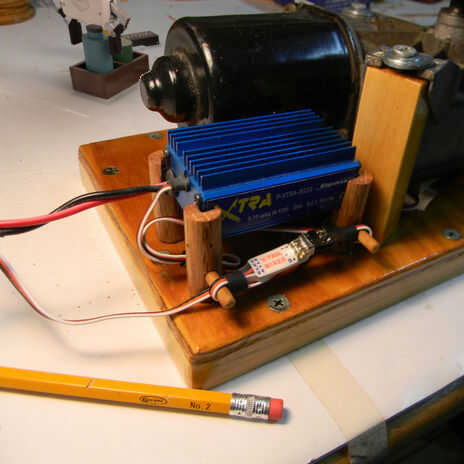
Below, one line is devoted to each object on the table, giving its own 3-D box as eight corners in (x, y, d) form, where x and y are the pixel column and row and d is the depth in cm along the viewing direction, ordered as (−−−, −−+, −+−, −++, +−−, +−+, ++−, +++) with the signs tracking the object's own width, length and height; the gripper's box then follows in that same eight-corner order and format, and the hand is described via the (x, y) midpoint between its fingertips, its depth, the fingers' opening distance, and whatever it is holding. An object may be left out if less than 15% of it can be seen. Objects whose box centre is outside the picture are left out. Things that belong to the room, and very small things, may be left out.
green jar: (107, 77, 110) (102, 42, 105) (120, 70, 114) (116, 36, 109) (126, 82, 109) (122, 47, 104) (139, 75, 113) (136, 41, 108)
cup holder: (73, 91, 104) (68, 66, 100) (119, 68, 116) (116, 45, 112) (107, 102, 102) (104, 77, 99) (150, 77, 115) (148, 54, 111)
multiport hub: (159, 43, 132) (159, 35, 131) (124, 50, 125) (123, 41, 124) (150, 38, 134) (149, 30, 133) (115, 44, 127) (114, 36, 126)
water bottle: (84, 87, 104) (73, 26, 96) (100, 79, 108) (91, 20, 100) (105, 93, 103) (97, 32, 95) (120, 85, 107) (113, 26, 99)
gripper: (29, -51, 88) (49, 43, 99) (111, -31, 85) (122, 64, 96) (58, -55, 94) (73, 34, 104) (135, -36, 91) (143, 53, 102)
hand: (96, 48), depth 100 cm, fingers open, 9 cm apart
